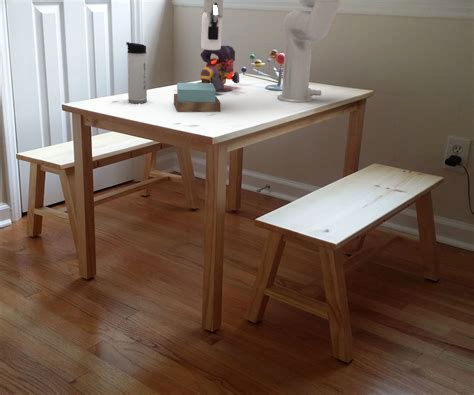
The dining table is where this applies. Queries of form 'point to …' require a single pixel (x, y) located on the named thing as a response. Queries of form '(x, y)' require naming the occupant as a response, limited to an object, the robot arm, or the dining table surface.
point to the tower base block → (197, 106)
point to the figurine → (219, 68)
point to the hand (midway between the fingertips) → (211, 37)
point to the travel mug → (137, 73)
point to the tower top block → (196, 92)
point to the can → (205, 42)
